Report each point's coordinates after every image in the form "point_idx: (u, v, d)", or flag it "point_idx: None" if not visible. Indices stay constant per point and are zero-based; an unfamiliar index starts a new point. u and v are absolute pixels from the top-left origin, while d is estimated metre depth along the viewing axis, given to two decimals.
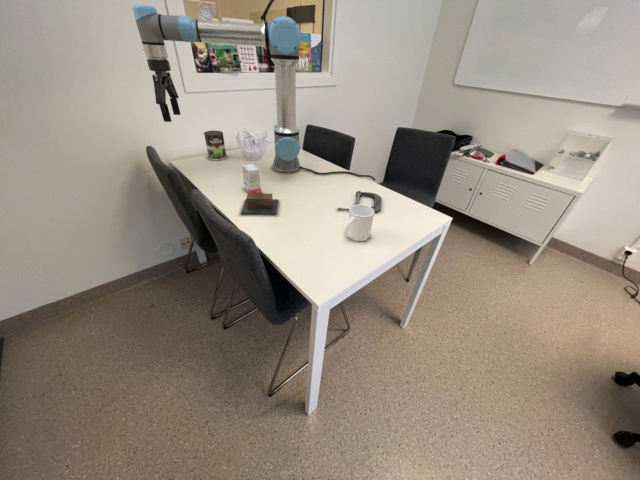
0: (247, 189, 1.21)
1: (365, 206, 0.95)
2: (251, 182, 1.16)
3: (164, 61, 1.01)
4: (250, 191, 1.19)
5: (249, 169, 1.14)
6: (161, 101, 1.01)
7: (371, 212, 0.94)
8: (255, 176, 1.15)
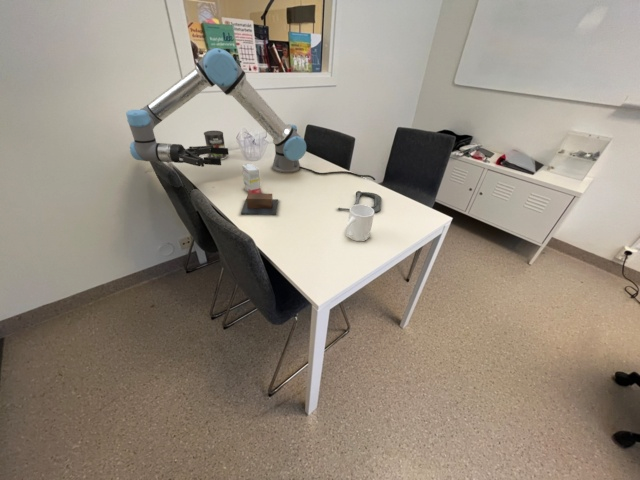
0: (247, 189, 1.21)
1: (365, 206, 0.95)
2: (251, 182, 1.16)
3: (170, 147, 1.07)
4: (250, 191, 1.19)
5: (249, 169, 1.14)
6: (197, 161, 1.03)
7: (371, 212, 0.94)
8: (255, 176, 1.15)
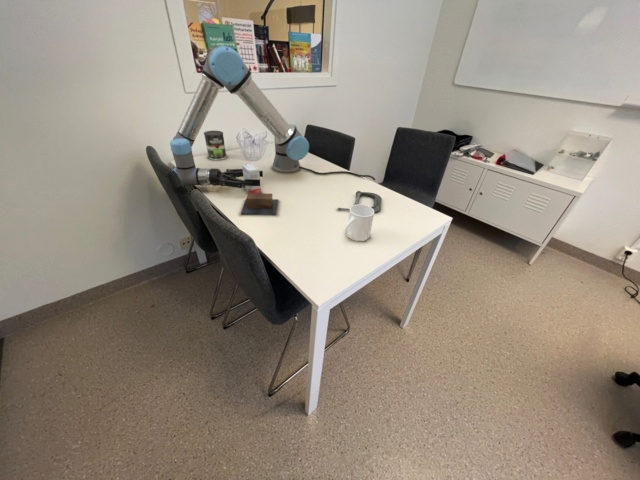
0: (247, 189, 1.21)
1: (365, 206, 0.95)
2: None
3: (209, 172, 1.14)
4: (250, 191, 1.19)
5: (249, 169, 1.14)
6: (240, 183, 1.12)
7: (371, 212, 0.94)
8: (255, 176, 1.15)
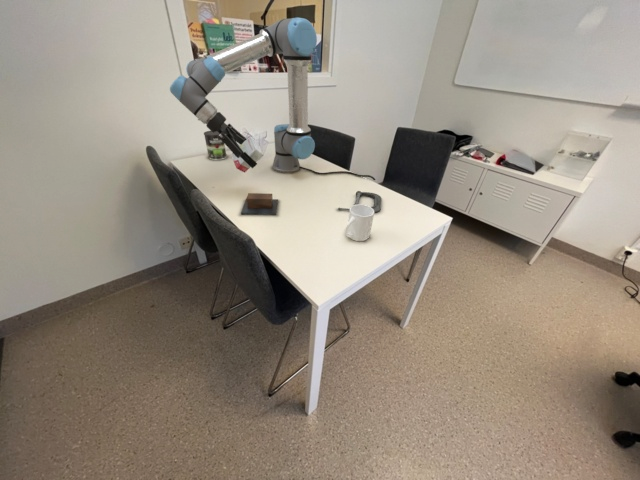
0: (235, 158, 1.09)
1: (365, 206, 0.95)
2: None
3: (216, 115, 0.97)
4: (238, 163, 1.07)
5: (256, 148, 1.05)
6: (239, 152, 1.00)
7: (371, 212, 0.94)
8: (254, 157, 1.06)
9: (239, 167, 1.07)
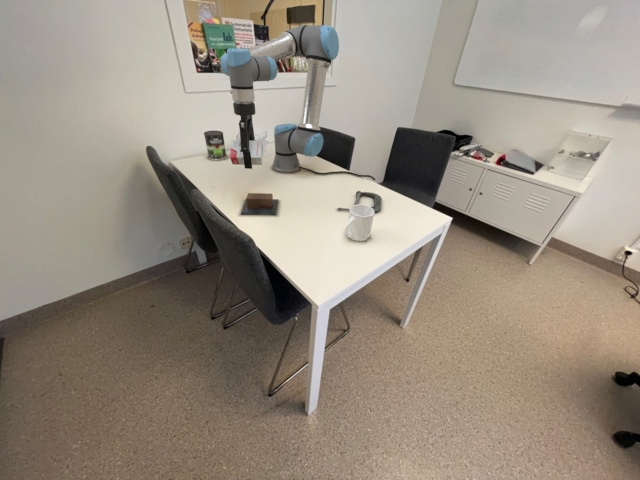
0: (234, 147, 1.01)
1: (365, 206, 0.95)
2: None
3: (251, 105, 0.92)
4: (234, 154, 1.00)
5: (261, 156, 1.02)
6: (246, 150, 0.95)
7: (371, 212, 0.94)
8: (253, 161, 1.03)
9: (233, 158, 1.00)
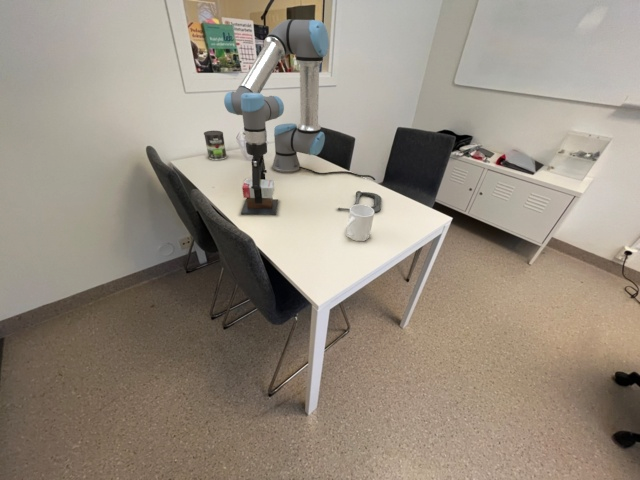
0: (247, 182, 1.06)
1: (365, 206, 0.95)
2: None
3: (264, 145, 0.94)
4: (246, 186, 1.03)
5: (272, 188, 1.05)
6: (258, 187, 0.95)
7: (371, 212, 0.94)
8: (264, 193, 1.04)
9: (245, 189, 1.03)
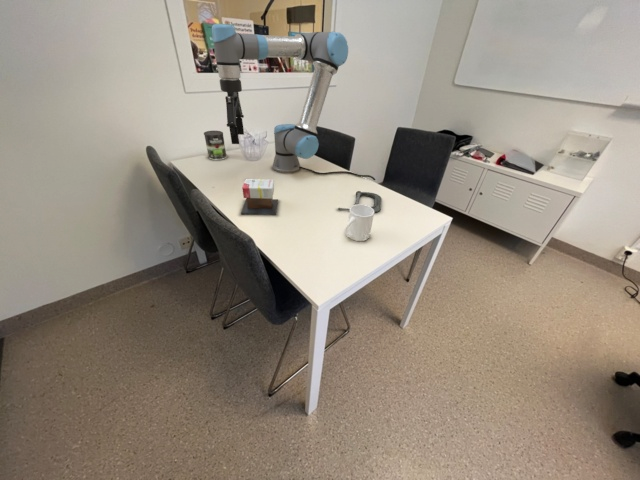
0: (247, 182, 1.06)
1: (365, 206, 0.95)
2: (258, 189, 1.03)
3: (237, 81, 0.95)
4: (246, 186, 1.03)
5: (272, 188, 1.05)
6: (233, 124, 0.96)
7: (371, 212, 0.94)
8: (264, 193, 1.04)
9: (245, 189, 1.03)
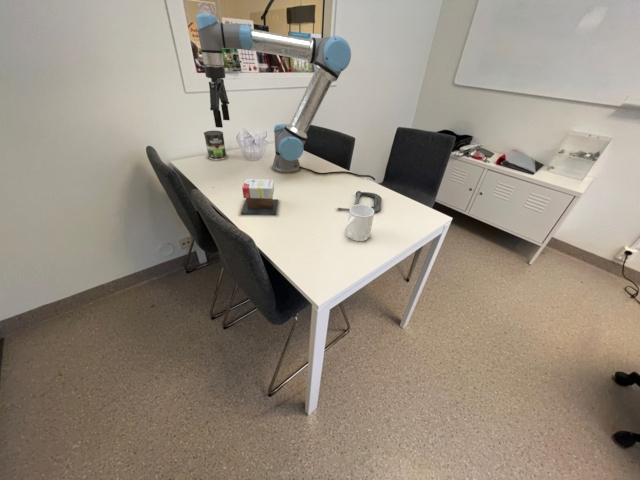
0: (247, 182, 1.06)
1: (365, 206, 0.95)
2: (258, 189, 1.03)
3: (220, 68, 1.02)
4: (246, 186, 1.03)
5: (272, 188, 1.05)
6: (215, 107, 1.03)
7: (371, 212, 0.94)
8: (264, 193, 1.04)
9: (245, 189, 1.03)
